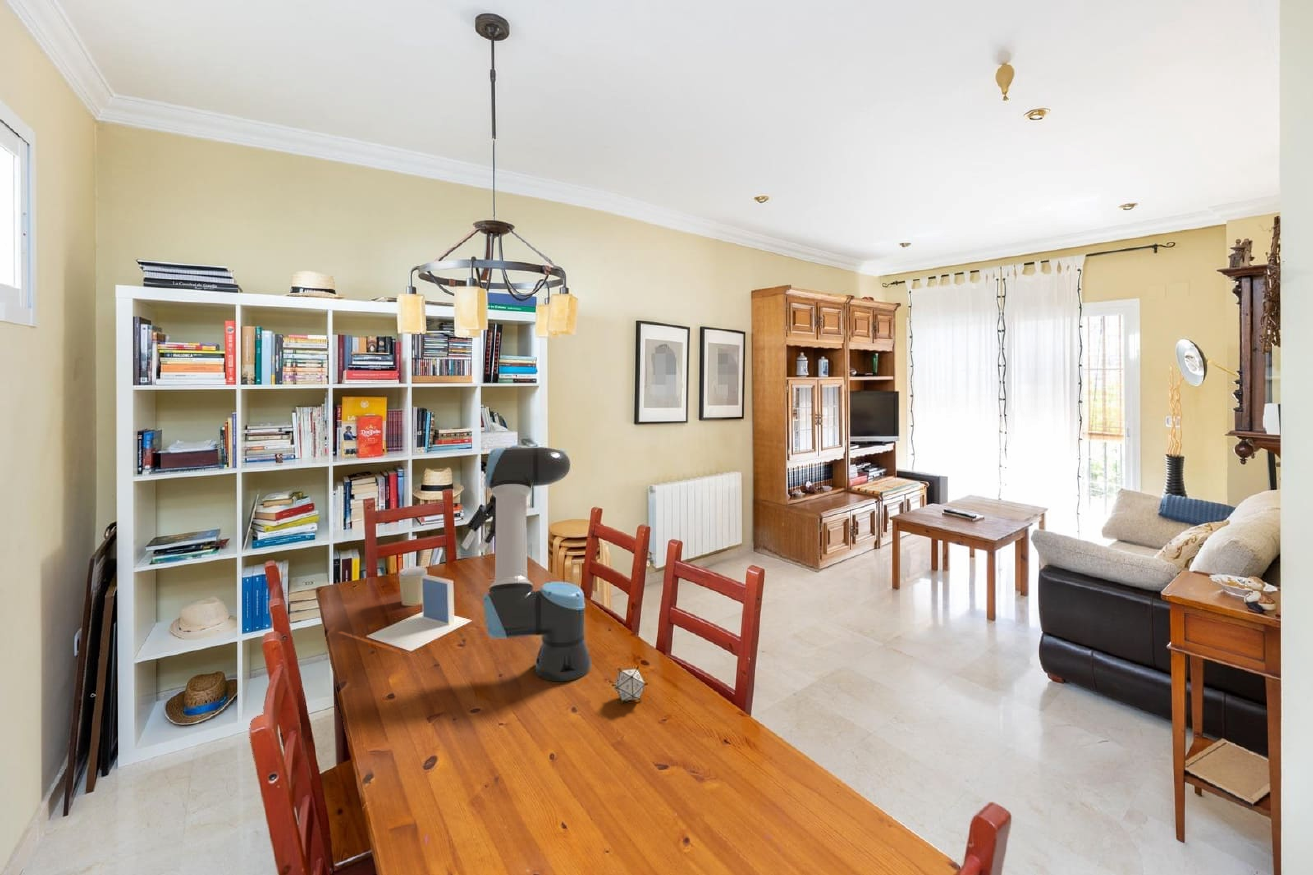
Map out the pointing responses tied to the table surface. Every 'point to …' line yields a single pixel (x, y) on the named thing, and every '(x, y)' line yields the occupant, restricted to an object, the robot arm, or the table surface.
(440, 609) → the tile
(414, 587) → the coffee cup
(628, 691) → the game die
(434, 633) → the mat
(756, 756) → the table surface
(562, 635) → the robot arm
